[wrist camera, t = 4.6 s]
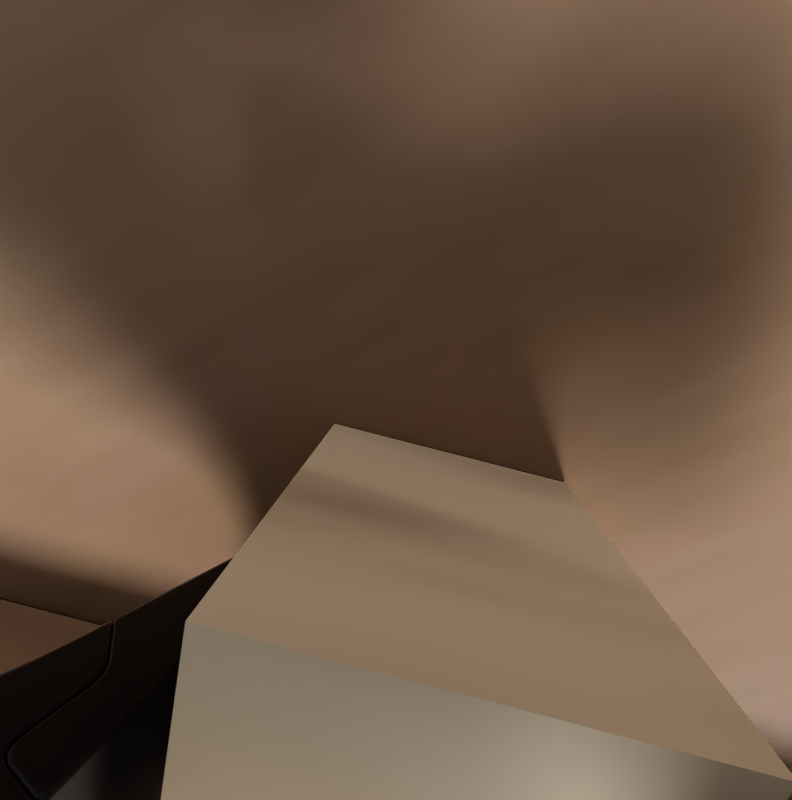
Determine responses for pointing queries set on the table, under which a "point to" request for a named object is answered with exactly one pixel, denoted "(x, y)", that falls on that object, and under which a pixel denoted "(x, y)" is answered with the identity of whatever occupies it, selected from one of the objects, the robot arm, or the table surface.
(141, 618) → the robot arm
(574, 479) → the table surface
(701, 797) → the cream cube
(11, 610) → the walnut plank
